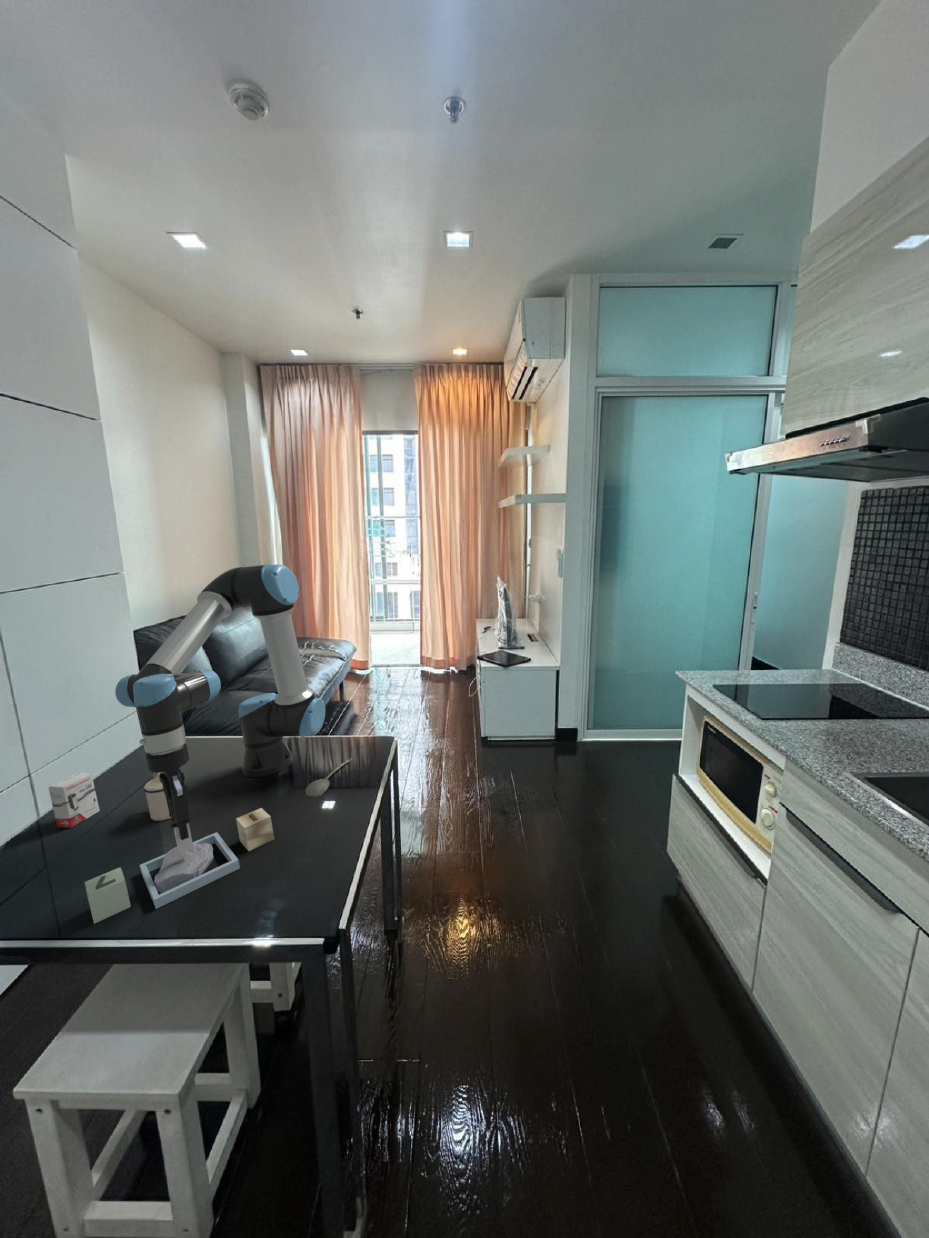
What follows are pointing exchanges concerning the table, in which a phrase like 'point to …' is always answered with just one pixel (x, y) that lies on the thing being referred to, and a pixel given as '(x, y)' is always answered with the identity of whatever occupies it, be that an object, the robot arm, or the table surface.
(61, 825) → the ink box
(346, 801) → the table surface
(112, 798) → the table surface
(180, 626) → the robot arm
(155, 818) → the teacup with lid
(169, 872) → the stone block
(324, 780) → the soupspoon
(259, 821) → the numbered birch block
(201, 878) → the slate-blue holder
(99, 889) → the numbered sage-green block
